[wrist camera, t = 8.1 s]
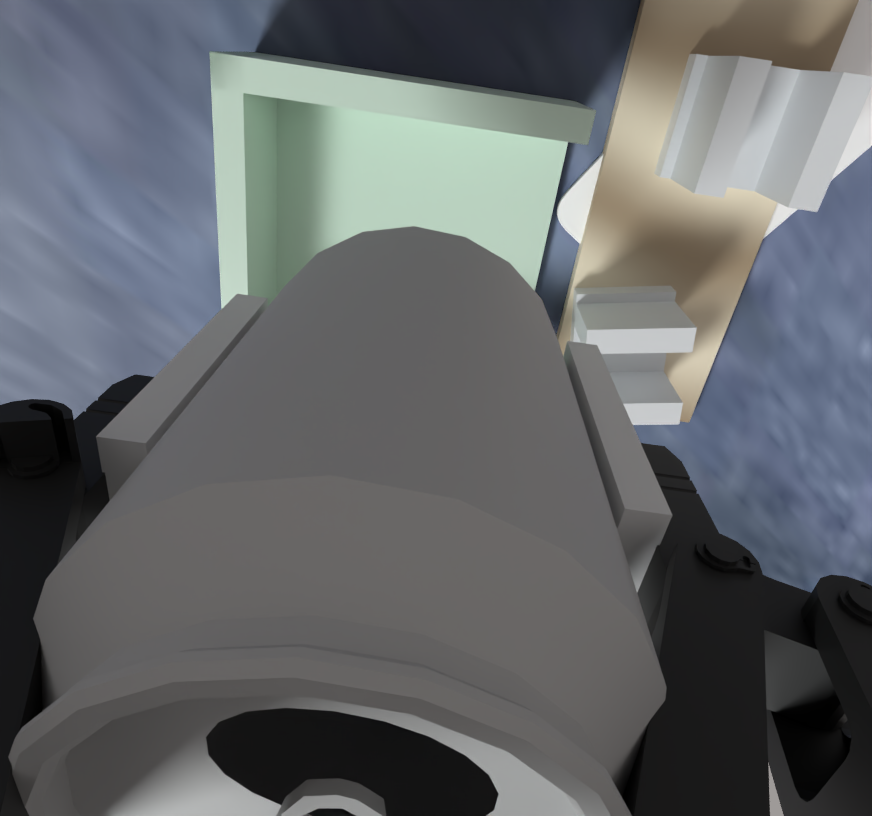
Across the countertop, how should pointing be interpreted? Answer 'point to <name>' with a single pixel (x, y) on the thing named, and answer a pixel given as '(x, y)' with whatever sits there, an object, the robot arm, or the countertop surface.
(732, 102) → the clip
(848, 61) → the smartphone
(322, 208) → the green open box
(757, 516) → the countertop surface
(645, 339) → the clip
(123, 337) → the countertop surface
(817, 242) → the countertop surface
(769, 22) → the board
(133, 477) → the can
